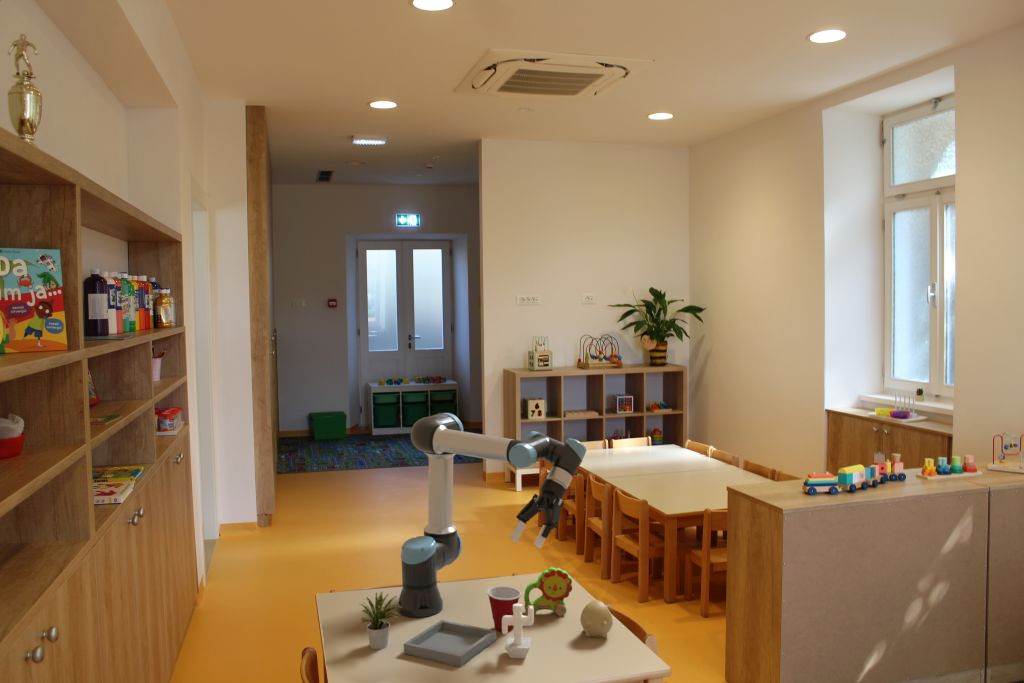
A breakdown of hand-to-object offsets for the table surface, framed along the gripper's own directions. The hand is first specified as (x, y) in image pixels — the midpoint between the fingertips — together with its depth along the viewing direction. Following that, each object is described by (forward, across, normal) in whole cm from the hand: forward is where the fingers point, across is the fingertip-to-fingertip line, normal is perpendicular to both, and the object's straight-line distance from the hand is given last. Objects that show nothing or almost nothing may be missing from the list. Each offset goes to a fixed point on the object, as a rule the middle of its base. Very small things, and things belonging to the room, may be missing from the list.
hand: (524, 543), depth 250 cm
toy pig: (+12, -10, -32) cm, 36 cm away
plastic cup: (+23, +11, -15) cm, 30 cm away
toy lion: (+12, +13, -29) cm, 34 cm away
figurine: (+29, -8, -11) cm, 32 cm away
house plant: (+47, +21, +15) cm, 54 cm away
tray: (+36, +9, 0) cm, 38 cm away
